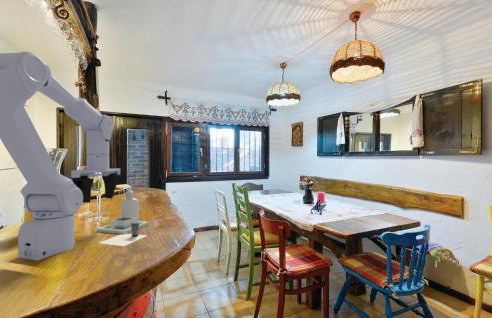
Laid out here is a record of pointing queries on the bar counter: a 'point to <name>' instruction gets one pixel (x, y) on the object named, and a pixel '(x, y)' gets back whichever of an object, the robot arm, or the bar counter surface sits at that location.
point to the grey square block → (122, 223)
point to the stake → (135, 229)
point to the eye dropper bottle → (130, 205)
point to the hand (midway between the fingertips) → (98, 200)
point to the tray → (118, 231)
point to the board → (122, 240)
